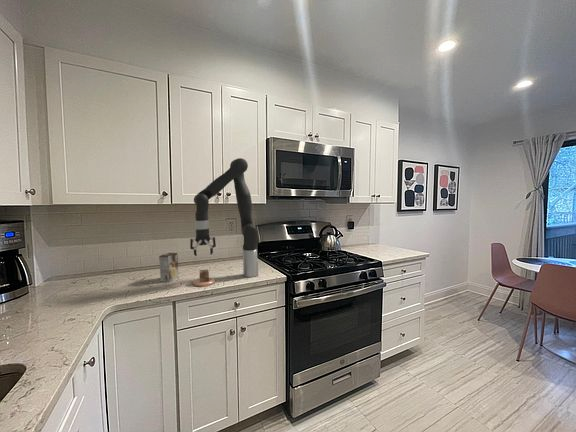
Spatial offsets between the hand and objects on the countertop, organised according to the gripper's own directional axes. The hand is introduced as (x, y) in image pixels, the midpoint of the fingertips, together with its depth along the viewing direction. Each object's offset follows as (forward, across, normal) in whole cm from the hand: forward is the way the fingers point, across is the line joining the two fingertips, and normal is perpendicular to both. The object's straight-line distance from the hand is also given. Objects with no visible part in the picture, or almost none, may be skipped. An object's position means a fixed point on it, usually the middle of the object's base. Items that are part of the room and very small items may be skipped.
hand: (203, 255), depth 151 cm
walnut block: (+15, 0, 0) cm, 16 cm away
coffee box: (+17, +20, -15) cm, 30 cm away
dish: (+17, 0, 0) cm, 17 cm away
